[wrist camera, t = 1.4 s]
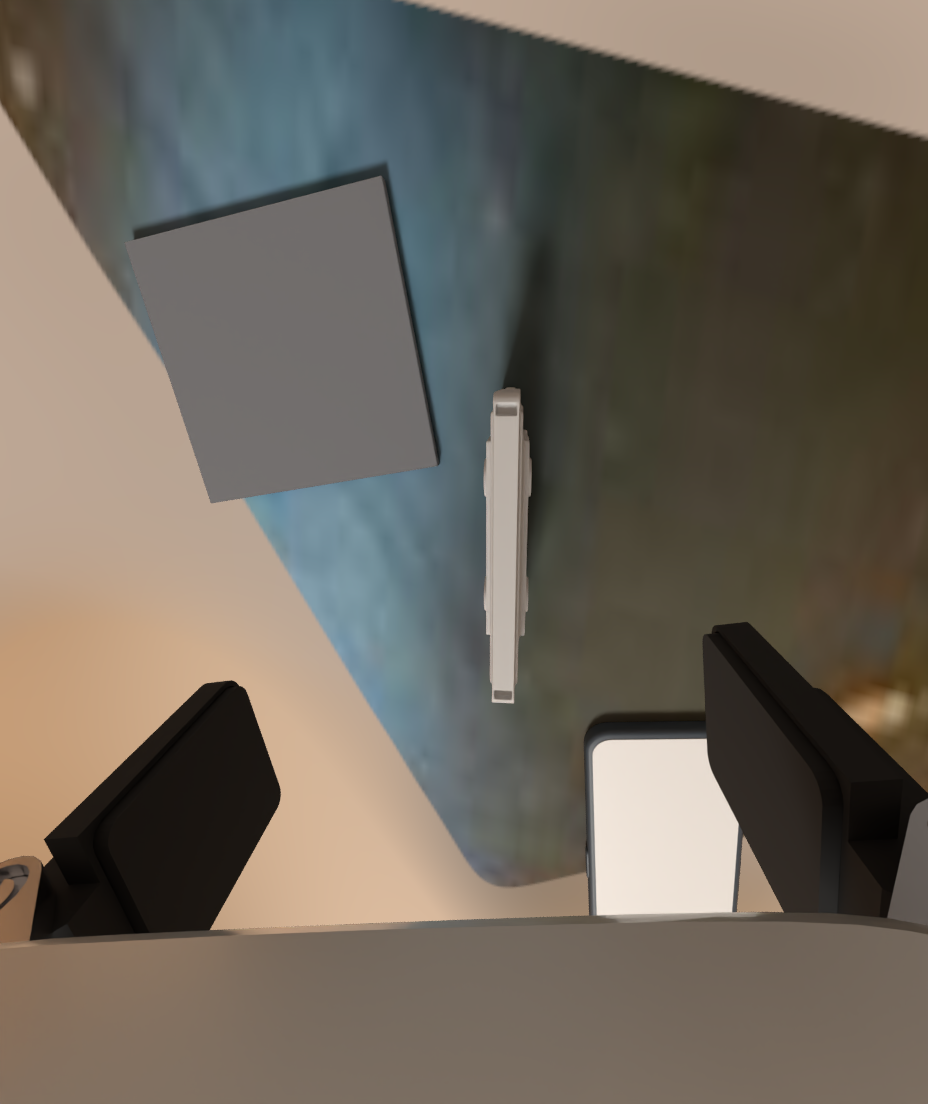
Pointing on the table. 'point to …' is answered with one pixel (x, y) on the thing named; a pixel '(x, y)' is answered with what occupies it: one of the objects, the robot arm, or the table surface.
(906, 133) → the table surface
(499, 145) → the table surface
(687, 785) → the phone case
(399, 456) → the pad
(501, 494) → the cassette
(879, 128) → the table surface
